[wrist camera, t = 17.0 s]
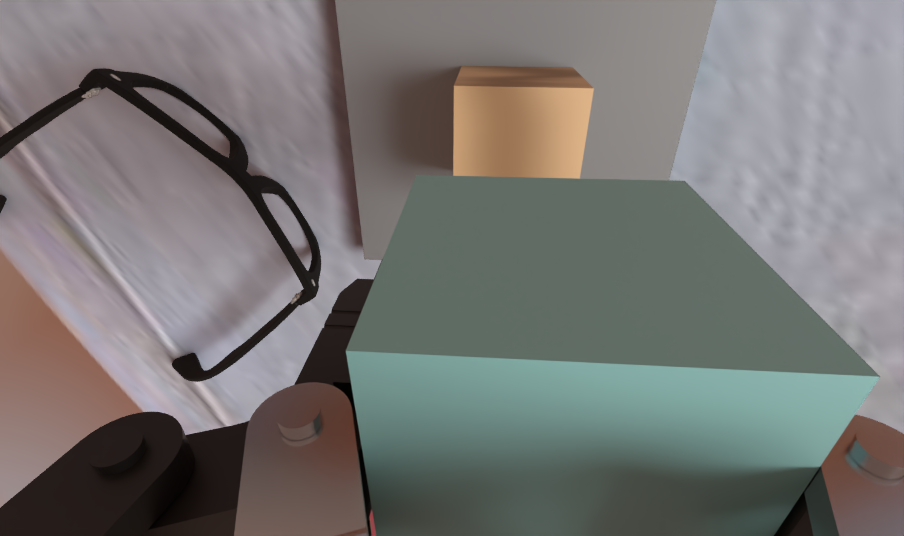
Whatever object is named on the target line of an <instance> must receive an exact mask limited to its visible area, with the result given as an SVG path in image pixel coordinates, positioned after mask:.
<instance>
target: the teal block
mask: <svg viewBox="0 0 904 536" xmlns="http://www.w3.org/2000/svg"><path fill="white" fill-rule="evenodd" d="M346 355H347V361H348V367H349V374H350V380H351V386H352V392H353V398H354V404H355V410H356V416H357V422H358V428H359V434H360V440H361V446H362V452H363V458H364V464H365V470H366V476H367V482H368V488H369V494H370V500H371V506H372V512H373V518H374V524H375V530H376V536H774V535H775V533H776V532H777V530H778V529H779V527H780V526H781V524H782V523H783V521H784V520H785V518H786V517H787V515H788V514H789V512H790V511H791V509H792V508H793V506H794V505H795V503H796V502H797V500H798V499H799V497H800V496H801V494H802V493H803V491H804V490H805V488H806V487H807V485H808V484H809V482H810V481H811V479H812V478H813V476H814V475H815V473H816V472H817V470H818V469H819V467H820V466H821V464H822V463H823V461H824V460H825V458H826V457H827V455H828V454H829V453H830V451H831V450H832V448H833V447H834V445H835V444H836V442H837V441H838V439H839V438H840V436H841V435H842V433H843V432H844V430H845V429H846V427H847V426H848V424H849V423H850V421H851V420H852V418H853V417H854V415H855V414H856V412H857V411H858V409H859V408H860V406H861V405H862V403H863V402H864V400H865V399H866V397H867V396H868V394H869V393H870V391H871V390H872V388H873V387H874V385H875V384H876V382H877V381H878V379H879V378H880V376H879V375H878V374H877V373H876V372H875V371H874V370H873V369H872V368H871V367H870V366H869V365H868V364H867V363H866V362H865V361H864V360H863V359H862V358H861V357H860V356H859V355H858V354H857V353H856V352H855V351H854V350H853V349H852V348H851V347H850V346H849V345H848V344H847V343H846V342H845V341H844V340H843V339H842V338H841V337H840V336H839V335H838V334H837V333H836V332H835V331H834V330H833V329H832V328H831V327H830V326H829V325H828V324H827V323H826V322H825V321H824V320H823V319H822V318H821V317H820V316H819V315H818V314H817V313H816V312H815V311H814V310H813V309H812V308H811V307H810V306H809V305H808V304H807V303H806V302H805V301H804V300H803V299H802V298H801V297H800V296H799V295H798V294H797V293H796V292H795V291H794V290H793V289H792V288H791V287H790V286H789V285H788V284H787V283H786V282H785V281H784V280H783V279H782V278H781V277H780V276H779V275H778V274H777V273H776V272H775V271H774V270H773V269H772V268H771V267H770V266H769V265H768V264H767V263H766V262H765V261H764V260H763V259H762V258H761V257H760V256H759V255H758V254H757V253H756V252H755V251H754V250H753V249H752V248H751V247H750V246H749V245H748V244H747V243H746V242H745V241H744V240H743V239H742V238H741V237H740V236H739V235H738V234H737V233H736V232H735V231H734V230H733V229H732V228H731V227H730V226H729V225H728V224H727V223H726V222H725V221H724V220H723V219H722V218H721V217H720V216H719V215H718V214H717V213H716V212H715V211H714V210H713V209H712V208H711V207H710V206H709V205H708V204H707V203H706V202H705V201H704V200H703V199H702V198H701V197H700V196H699V195H698V194H697V193H696V192H695V191H694V190H693V189H692V188H691V187H690V186H689V185H688V184H687V183H686V182H685V181H666V180H621V179H577V178H533V177H488V176H444V175H416V178H415V180H414V183H413V185H412V187H411V190H410V192H409V195H408V197H407V200H406V202H405V205H404V207H403V210H402V212H401V215H400V217H399V220H398V222H397V225H396V227H395V230H394V232H393V235H392V237H391V240H390V242H389V245H388V247H387V250H386V252H385V255H384V257H383V260H382V262H381V265H380V267H379V269H378V272H377V274H376V277H375V279H374V282H373V284H372V287H371V289H370V292H369V294H368V297H367V299H366V302H365V304H364V307H363V309H362V312H361V314H360V317H359V319H358V322H357V324H356V327H355V329H354V332H353V334H352V337H351V339H350V342H349V344H348V347H347V349H346Z"/></svg>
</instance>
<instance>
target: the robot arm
mask: <svg viewBox="0 0 904 536" xmlns="http://www.w3.org/2000/svg"><path fill="white" fill-rule="evenodd" d="M382 260H383V259H382ZM381 262H382V261H381ZM380 265H381V263H380ZM379 267H380V266H379ZM378 269H379V268H378ZM377 272H378V271H377ZM376 274H377V273H376ZM375 277H376V276H375ZM374 279H375V278H374ZM373 282H374V280H373V279H356V280H355V281H354V282H353V283H352V284H350V285H349V286H348V287H347V288H345V289H344V290H343V291H342V292H341V293H340V294H339V296H338V298H337V300H336V302H335V304H334V306H333V308H332V313H331V314H329V316H328V318H327V320H326V322H325V324H324V328H322V330H321V332H320V334H319V336H318V338H317V340H316V342H315V344H314V346H313V348H312V350H311V352H310V354H309V356H308V358H307V360H306V362H305V365H304V367H303V369H302V371H301V373H300V375H299V377H298V379H297V381H296V383H295V385H293V386H290V387H287V388H285V389H283V390H281V391H279V392H277V393H275V394H273V395H272V396H270V397H269V398H268V399H266V400H265V401H264V402H263V403H262V404H261V405H260V406H259V407H258V408H257V409H256V410H255V412H254V413H253V415H252V416H251V419H250V421H247V422H244V423H241V424H237V425H233V426H228V427H223V428H218V429H213V430H209V431H204V432H199V433H194V434H189V435H185V433H184V431H183V429H182V427H181V425H180V423H179V422H178V421H177V420H176V419H175V418H174V417H172V416H170V415H168V414H165V413H160V412H142V413H137V414H132V415H128V416H125V417H122V418H119V419H117V420H115V421H112V422H110V423H108V424H106V425H104V426H102V427H100V428H99V429H97V430H95V431H94V432H92V433H90V434H89V435H88V436H87V437H85V438H84V439H82V440H81V441H80V442H79V443H78V444H76V445H75V446H74V447H73V448H72V449H70V450H69V451H68V452H67V453H65V454H64V455H63V456H62V457H61V458H59V459H58V460H57V461H56V462H55V463H54V464H52V465H51V466H50V467H49V468H47V469H46V470H45V471H44V472H43V473H41V474H40V475H39V476H38V477H37V478H35V479H34V480H33V481H32V482H31V483H30V484H28V485H27V486H26V487H25V488H23V489H22V490H21V491H20V492H19V493H17V494H16V495H15V496H14V497H13V498H11V499H10V500H9V501H8V502H7V503H5V504H4V505H3V506H2V507H1V508H0V536H372V531H371V523H370V513H371V509H372V506H371V500H370V494H369V488H368V482H367V476H366V470H365V464H364V458H363V452H362V446H361V440H360V434H359V428H358V422H357V416H356V410H355V404H354V398H353V392H352V386H351V380H350V374H349V367H348V361H347V355H346V349H347V347H348V344H349V342H350V339H351V337H352V334H353V332H354V329H355V327H356V324H357V322H358V319H359V317H360V314H361V312H362V309H363V307H364V304H365V302H366V299H367V297H368V294H369V292H370V289H371V287H372V284H373ZM774 536H904V434H903V433H901V432H899V431H898V430H896V429H894V428H892V427H890V426H888V425H886V424H883V423H881V422H878V421H876V420H873V419H870V418H867V417H864V416H860V415H854V417H853V418H852V420H851V421H850V423H849V424H848V426H847V427H846V429H845V430H844V432H843V433H842V435H841V436H840V438H839V439H838V441H837V442H836V444H835V445H834V447H833V448H832V450H831V451H830V453H829V454H828V455H827V457H826V458H825V460H824V461H823V463H822V464H821V466H820V467H819V469H818V470H817V472H816V473H815V475H814V476H813V478H812V479H811V481H810V482H809V484H808V485H807V487H806V488H805V490H804V491H803V493H802V494H801V496H800V497H799V499H798V500H797V502H796V503H795V505H794V506H793V508H792V509H791V511H790V512H789V514H788V515H787V517H786V518H785V520H784V521H783V523H782V524H781V526H780V527H779V529H778V530H777V532H776V533H775V535H774Z"/></svg>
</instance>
